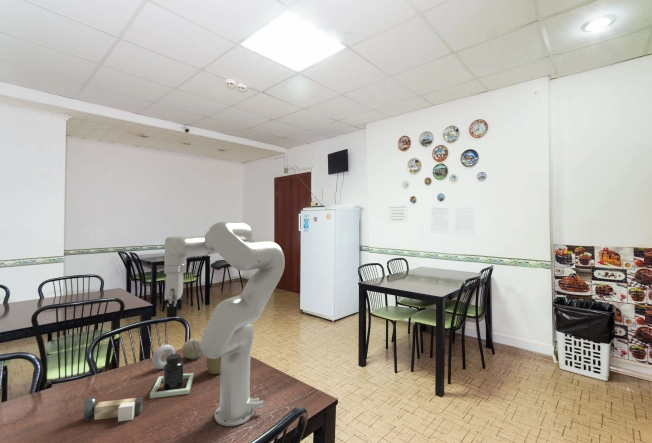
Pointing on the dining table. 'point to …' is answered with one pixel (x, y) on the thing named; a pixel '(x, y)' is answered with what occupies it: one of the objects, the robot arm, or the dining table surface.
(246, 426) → the dining table surface
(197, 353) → the garlic bulb
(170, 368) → the supplement bottle
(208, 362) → the squeeze bottle
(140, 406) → the leg
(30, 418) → the dining table surface
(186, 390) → the seat frame
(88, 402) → the pivot post
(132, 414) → the block
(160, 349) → the donut
